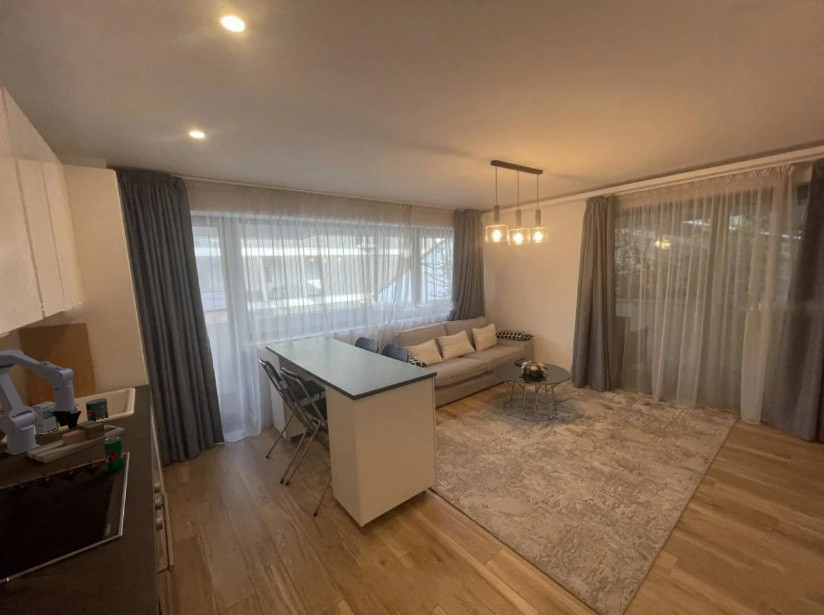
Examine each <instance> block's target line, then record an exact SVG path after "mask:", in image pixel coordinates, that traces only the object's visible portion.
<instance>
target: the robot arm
mask: <svg viewBox="0 0 824 615" xmlns="http://www.w3.org/2000/svg"><path fill="white" fill-rule="evenodd" d="M16 365H17V366H20V367H24V368H26V369H30V370H32V372H33V374H35V375H36V376H39V377H42V378H44V379H47V382H48V383H49V384H50V386H51V388H52V389H53V395H54V402H55V404H56V405H55V410H56V411H55V412H52V414H53V415H54V416H55V417H56V419H57V421H58V424H59V428H62V427H66V426H67V428H68V430H73V429H74V430H75V429H76V427H77V424H78V421H79V418H80V416H81V414H82V411H81V410H78V407H79V406H80V403H79V402H77V403H76V400H75V391H74V383H73V380H75V378H76V376H77V373H76V371H75V370H74V369H73V368H72V367H62V366H59V365H58V366H57V365H55V364H53V363H51V361H41V362H40V361H38V360H37V359H35V358H32V357H30V356H28V355H26V354H24V351H23V350H20V349H17V348H10V349H4V350H0V405H1V407H2V409H3V411H4V412H3V413H2V414H1V416H0V430H1V431H2V432H3V433H5V435H6V436H5V437H6V445H7V449H5V450H4V453H7V454H10V455H12V456H16V455H19V454H22V453H25V452H26V451H29V450H32V449H35V448H38V447H41V446H42V445H40V444H38V443H37V442H36V432H35V426H36V425H35V423H37V422H38V419H39V417H38V414H37V413H36V412H34V410H33V409H32V406H29V405H28V406H27V405H24V403H23V402H22V399H21V397H20V395H19V393H18V391H17V389H16V387H15V385H14V383H13V380H12V379H11V377H10V374H9V372H10V370H11V369H13V368H14V367H15V366H16ZM77 406H78V407H77Z"/></svg>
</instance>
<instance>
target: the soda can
mask: <svg viewBox="0 0 824 615" xmlns="http://www.w3.org/2000/svg"><path fill="white" fill-rule="evenodd" d="M102 443H103V451H104V452H103V453H104V461H105V470H106V472H108V473H113V471H114V472H116V470H117V471H119V470H121V469H122V468H124V466H125V459H124V450H123V440H122V438H121V436H113V437H110V438H107V439H105V441H104V442H102ZM118 469H119V470H118Z"/></svg>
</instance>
